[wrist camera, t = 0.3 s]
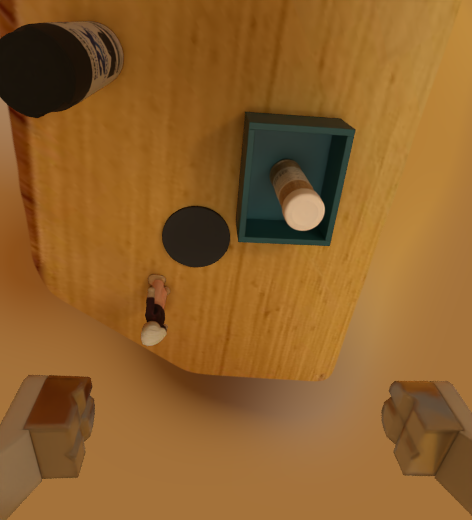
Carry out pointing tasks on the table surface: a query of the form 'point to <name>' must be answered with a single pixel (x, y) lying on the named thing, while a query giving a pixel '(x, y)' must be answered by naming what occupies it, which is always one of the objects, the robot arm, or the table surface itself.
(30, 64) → the spray can
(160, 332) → the grandmother figurine
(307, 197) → the sprinkles bottle
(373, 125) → the table surface
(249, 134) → the basin
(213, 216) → the pad
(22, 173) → the table surface
